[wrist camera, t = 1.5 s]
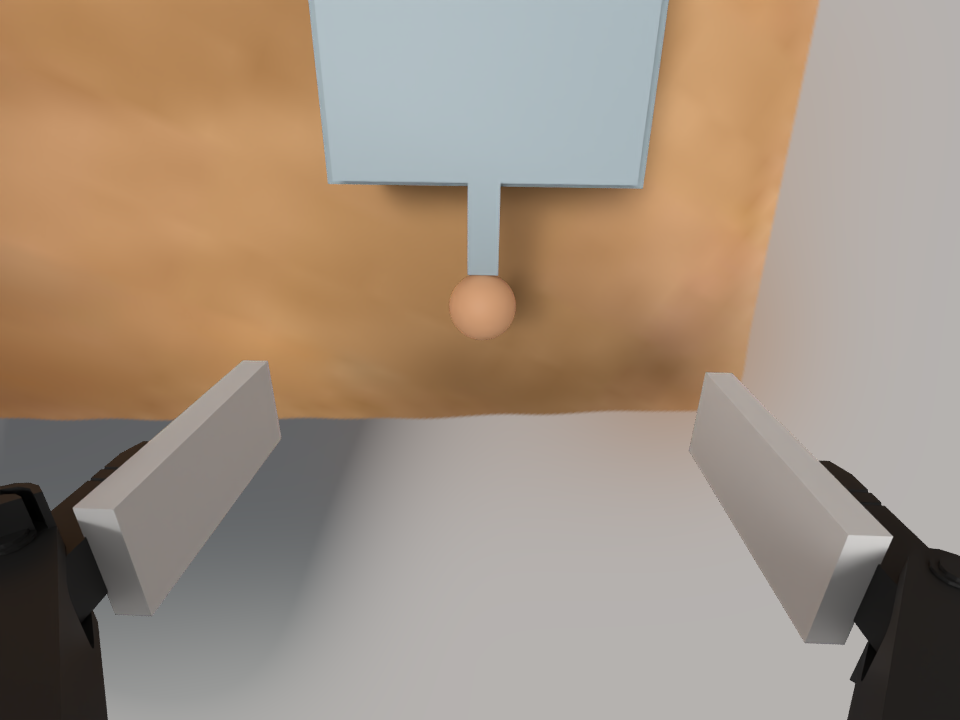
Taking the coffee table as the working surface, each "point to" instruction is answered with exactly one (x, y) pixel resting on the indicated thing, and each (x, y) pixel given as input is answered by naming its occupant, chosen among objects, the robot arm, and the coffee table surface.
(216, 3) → the coffee table surface
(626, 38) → the flap
